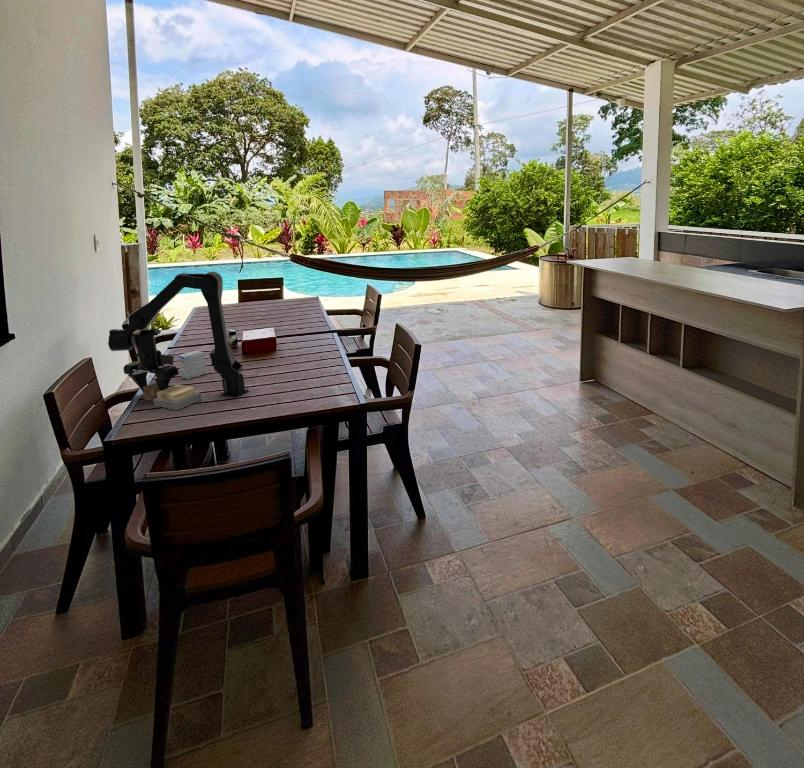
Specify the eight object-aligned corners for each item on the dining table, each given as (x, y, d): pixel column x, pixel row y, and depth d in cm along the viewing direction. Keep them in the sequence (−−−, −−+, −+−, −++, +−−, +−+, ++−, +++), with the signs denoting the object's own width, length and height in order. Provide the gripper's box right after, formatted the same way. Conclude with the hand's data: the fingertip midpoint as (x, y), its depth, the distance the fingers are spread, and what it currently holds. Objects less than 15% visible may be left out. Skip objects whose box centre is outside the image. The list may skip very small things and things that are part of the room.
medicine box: (200, 372, 208) (197, 350, 205) (207, 374, 205) (203, 351, 202) (181, 377, 202) (177, 355, 199) (187, 380, 199) (184, 356, 197)
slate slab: (201, 400, 178) (200, 392, 178) (177, 410, 170) (176, 403, 169) (178, 396, 182) (177, 389, 182) (154, 406, 174) (152, 399, 173)
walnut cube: (166, 397, 183) (164, 384, 181) (155, 401, 179) (153, 388, 177) (156, 395, 184) (154, 382, 183) (145, 400, 181) (143, 387, 179)
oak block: (195, 393, 177) (194, 387, 176) (176, 401, 170) (175, 395, 170) (177, 390, 180) (176, 384, 180) (157, 398, 174) (156, 392, 173)
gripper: (187, 345, 179) (195, 390, 184) (146, 340, 187) (154, 384, 192) (160, 354, 170) (168, 401, 175) (118, 349, 177) (127, 394, 182)
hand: (155, 395), depth 181 cm, fingers open, 8 cm apart
